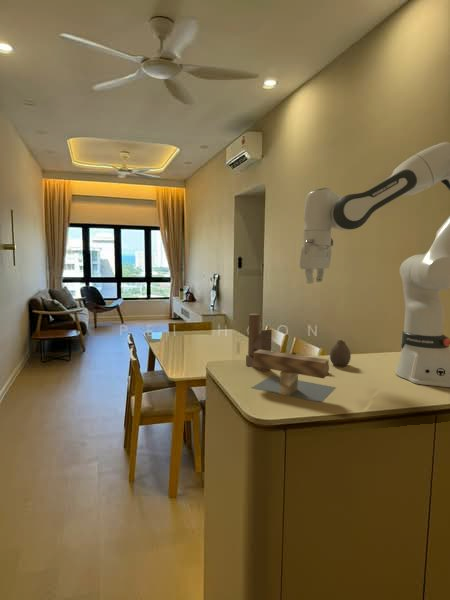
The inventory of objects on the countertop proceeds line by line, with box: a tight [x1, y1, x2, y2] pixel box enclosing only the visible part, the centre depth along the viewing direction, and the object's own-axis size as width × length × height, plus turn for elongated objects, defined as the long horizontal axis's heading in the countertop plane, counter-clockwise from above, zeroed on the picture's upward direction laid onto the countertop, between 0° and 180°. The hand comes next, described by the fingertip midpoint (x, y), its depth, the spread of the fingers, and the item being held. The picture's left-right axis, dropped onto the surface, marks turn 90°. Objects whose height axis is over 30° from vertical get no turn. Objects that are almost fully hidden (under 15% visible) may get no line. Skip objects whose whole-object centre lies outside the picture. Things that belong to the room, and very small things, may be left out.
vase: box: [329, 339, 352, 368], centre depth 138 cm, size 7×7×9 cm
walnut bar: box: [253, 350, 330, 379], centre depth 107 cm, size 20×4×4 cm, turn 60°
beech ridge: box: [279, 371, 299, 397], centre depth 108 cm, size 3×6×6 cm, turn 149°
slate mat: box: [251, 375, 337, 404], centre depth 112 cm, size 20×14×1 cm
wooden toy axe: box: [245, 313, 273, 372], centre depth 131 cm, size 4×11×18 cm, turn 25°
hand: (314, 282), depth 130 cm, fingers open, 8 cm apart
